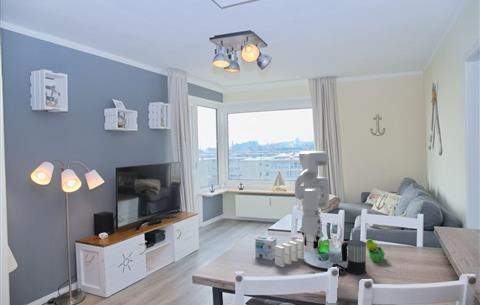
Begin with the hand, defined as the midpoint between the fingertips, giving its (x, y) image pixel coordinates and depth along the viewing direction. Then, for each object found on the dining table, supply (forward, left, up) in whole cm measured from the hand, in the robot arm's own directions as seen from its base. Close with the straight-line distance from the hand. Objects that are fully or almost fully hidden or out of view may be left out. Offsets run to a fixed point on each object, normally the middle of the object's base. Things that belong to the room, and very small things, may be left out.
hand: (311, 246), depth 175 cm
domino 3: (0, -13, -11) cm, 17 cm away
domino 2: (+5, -13, -11) cm, 17 cm away
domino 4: (-6, -13, -11) cm, 17 cm away
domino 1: (+11, -13, -11) cm, 20 cm away
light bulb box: (+7, -27, -11) cm, 29 cm away
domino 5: (0, 0, -3) cm, 3 cm away
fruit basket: (-34, +17, -11) cm, 40 cm away
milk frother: (-8, +17, -11) cm, 22 cm away
